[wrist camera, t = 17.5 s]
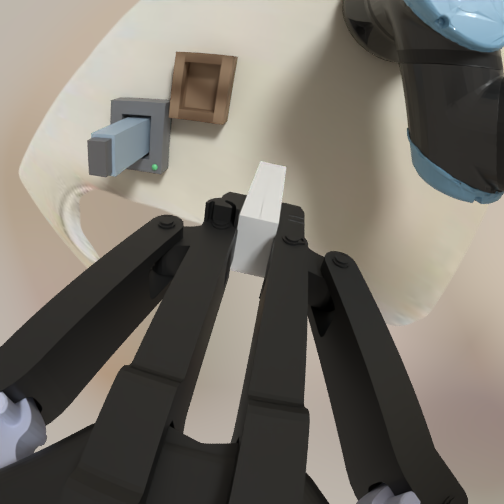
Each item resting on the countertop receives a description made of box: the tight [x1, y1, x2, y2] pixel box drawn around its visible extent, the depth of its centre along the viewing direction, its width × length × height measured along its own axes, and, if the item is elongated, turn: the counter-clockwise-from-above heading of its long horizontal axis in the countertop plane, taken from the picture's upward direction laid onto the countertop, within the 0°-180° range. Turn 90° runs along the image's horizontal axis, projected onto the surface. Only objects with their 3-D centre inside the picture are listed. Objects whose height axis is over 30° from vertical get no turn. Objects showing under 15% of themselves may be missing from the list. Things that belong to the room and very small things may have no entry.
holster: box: [169, 52, 238, 125], centre depth 39 cm, size 10×8×3 cm
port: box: [111, 98, 171, 174], centre depth 44 cm, size 12×10×3 cm
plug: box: [87, 115, 151, 177], centre depth 39 cm, size 6×4×14 cm, turn 170°
